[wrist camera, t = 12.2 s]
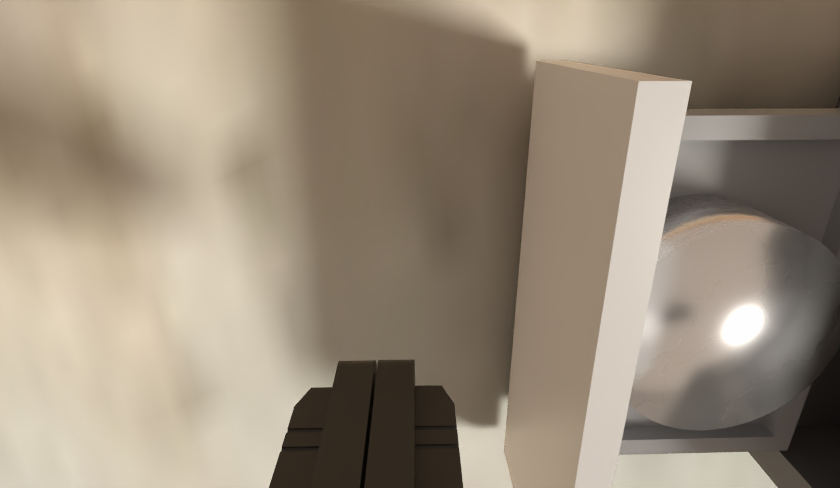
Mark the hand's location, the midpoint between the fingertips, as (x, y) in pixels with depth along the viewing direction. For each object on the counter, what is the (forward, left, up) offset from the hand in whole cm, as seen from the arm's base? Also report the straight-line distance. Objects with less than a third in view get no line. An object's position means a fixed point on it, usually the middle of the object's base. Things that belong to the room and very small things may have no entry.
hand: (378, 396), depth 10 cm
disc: (+9, 0, -5) cm, 10 cm away
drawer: (+9, -1, -6) cm, 10 cm away
